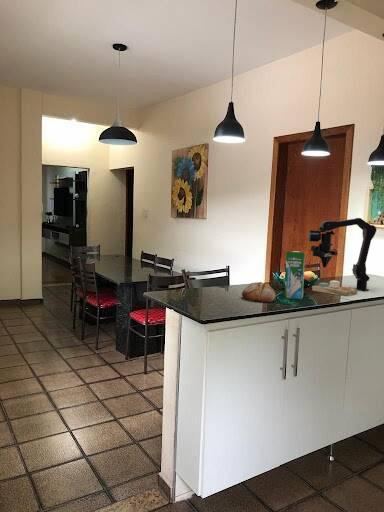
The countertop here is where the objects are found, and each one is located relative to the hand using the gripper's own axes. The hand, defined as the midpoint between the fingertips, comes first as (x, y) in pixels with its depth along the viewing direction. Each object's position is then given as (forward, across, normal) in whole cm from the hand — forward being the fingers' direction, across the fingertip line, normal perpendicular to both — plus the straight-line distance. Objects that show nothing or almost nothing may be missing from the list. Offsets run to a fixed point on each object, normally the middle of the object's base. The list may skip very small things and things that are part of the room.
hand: (324, 267), depth 248 cm
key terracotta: (+12, +5, +17) cm, 22 cm away
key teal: (+12, +5, +3) cm, 14 cm away
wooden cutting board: (+13, +5, +10) cm, 17 cm away
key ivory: (+10, +5, +10) cm, 15 cm away
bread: (+14, +57, -3) cm, 59 cm away
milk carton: (+13, +38, +5) cm, 41 cm away
